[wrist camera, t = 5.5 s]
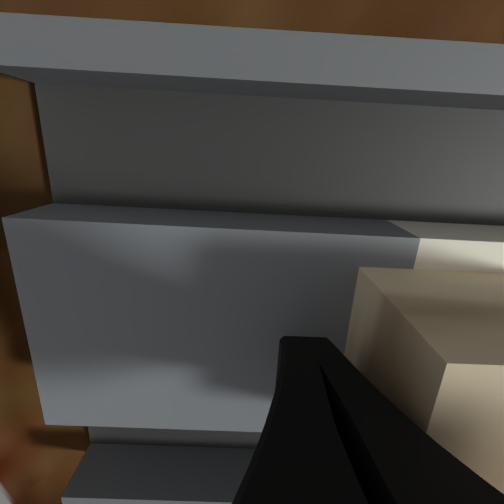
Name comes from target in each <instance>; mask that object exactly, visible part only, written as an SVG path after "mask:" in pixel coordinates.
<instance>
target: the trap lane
mask: <svg viewBox="0 0 504 504" xmlns="http://www.w3.org/2000/svg"><path fill="white" fill-rule="evenodd" d="M0 73H3V74H6V75H9V76H13V77H16V78H19V79H23V80H26V81H30V82H33V83H34V84H35V90H36V97H37V103H38V109H39V116H40V122H41V129H42V135H43V142H44V148H45V155H46V161H47V167H48V174H49V180H50V187H51V193H52V200H53V203H52V204H48V205H45V206H41V207H37V208H34V209H30V210H27V211H23V212H20V213H16V214H13V215H9V216H5V217H2V222H3V227H4V232H5V236H6V241H7V246H8V250H9V255H10V260H11V265H12V269H13V274H14V279H15V283H16V288H17V293H18V297H19V302H20V307H21V312H22V316H23V321H24V326H25V330H26V335H27V340H28V345H29V349H30V354H31V359H32V363H33V368H34V373H35V378H36V382H37V387H38V392H39V396H40V401H41V406H42V411H43V415H44V420H45V425H71V426H88V431H89V438H90V445H89V447H88V448H87V450H86V452H85V454H84V456H83V458H82V459H81V461H80V463H79V465H78V467H77V469H76V471H75V472H74V474H73V476H72V478H71V480H70V482H69V483H68V485H67V487H66V489H65V491H64V493H63V495H62V496H61V500H62V504H232V502H233V500H234V498H235V495H236V493H237V491H238V489H239V486H240V484H241V482H242V480H243V478H244V475H245V473H246V471H247V469H248V466H249V464H250V461H251V459H252V456H253V454H254V451H255V449H256V446H257V444H258V441H259V439H260V436H261V433H262V430H263V428H264V425H265V422H266V419H267V415H268V412H269V409H270V406H271V403H272V399H273V396H274V392H275V385H276V374H277V363H278V352H279V341H280V339H281V338H282V337H283V336H304V337H327V338H328V339H329V340H330V341H331V342H332V343H333V344H334V345H335V346H336V347H337V348H338V349H339V350H340V351H341V352H342V354H343V355H344V352H345V346H346V340H347V334H348V329H349V323H350V317H351V311H352V305H353V299H354V293H355V288H356V282H357V276H358V270H359V267H376V268H400V269H423V270H447V271H470V272H493V273H504V44H493V43H478V42H462V41H446V40H430V39H414V38H399V37H383V36H367V35H351V34H335V33H320V32H304V31H288V30H272V29H256V28H241V27H225V26H209V25H193V24H177V23H162V22H146V21H130V20H114V19H98V18H83V17H67V16H51V15H35V14H19V13H4V12H0Z"/></svg>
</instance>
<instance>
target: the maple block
mask: <svg viewBox="0 0 504 504" xmlns="http://www.w3.org/2000/svg"><path fill="white" fill-rule="evenodd" d="M344 356H345V357H346V358H347V359H348V360H349V361H350V362H351V363H352V364H353V365H354V366H355V367H356V368H357V369H358V370H359V371H360V372H361V373H362V374H363V375H364V376H365V377H366V378H367V379H368V380H369V381H370V382H371V383H372V384H373V385H374V386H375V387H376V388H377V389H378V390H379V391H380V392H381V393H382V394H383V395H384V396H385V397H386V398H387V399H388V400H390V401H391V402H392V403H393V404H394V405H395V406H396V407H397V408H398V409H399V410H400V411H401V412H403V413H404V414H405V415H406V416H407V417H408V418H409V419H410V420H412V421H413V422H414V423H415V424H416V425H417V426H418V427H420V428H421V429H422V430H423V431H424V432H425V433H426V434H428V435H429V436H430V437H431V438H432V439H434V440H435V441H436V442H437V443H438V444H440V445H441V446H442V447H443V448H444V449H446V450H447V451H448V452H450V453H451V454H452V455H453V456H455V457H456V458H457V459H458V460H460V461H461V462H462V463H463V464H465V465H466V466H467V467H469V468H470V469H471V470H472V471H474V472H475V473H476V474H477V475H479V476H480V477H481V478H483V479H484V480H485V481H487V482H488V483H489V484H491V485H492V486H493V487H495V488H496V489H497V490H499V491H500V492H501V493H503V494H504V273H493V272H470V271H447V270H423V269H400V268H376V267H359V270H358V276H357V282H356V288H355V293H354V299H353V305H352V311H351V317H350V323H349V329H348V334H347V340H346V346H345V352H344Z"/></svg>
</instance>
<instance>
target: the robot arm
mask: <svg viewBox="0 0 504 504" xmlns="http://www.w3.org/2000/svg"><path fill="white" fill-rule="evenodd" d="M232 504H504V494H503V493H501V492H500V491H499V490H497V489H496V488H495V487H493V486H492V485H491V484H489V483H488V482H487V481H485V480H484V479H483V478H481V477H480V476H479V475H477V474H476V473H475V472H474V471H472V470H471V469H470V468H469V467H467V466H466V465H465V464H463V463H462V462H461V461H460V460H458V459H457V458H456V457H455V456H453V455H452V454H451V453H450V452H448V451H447V450H446V449H444V448H443V447H442V446H441V445H440V444H438V443H437V442H436V441H435V440H434V439H432V438H431V437H430V436H429V435H428V434H426V433H425V432H424V431H423V430H422V429H421V428H420V427H418V426H417V425H416V424H415V423H414V422H413V421H412V420H410V419H409V418H408V417H407V416H406V415H405V414H404V413H403V412H401V411H400V410H399V409H398V408H397V407H396V406H395V405H394V404H393V403H392V402H391V401H390V400H388V399H387V398H386V397H385V396H384V395H383V394H382V393H381V392H380V391H379V390H378V389H377V388H376V387H375V386H374V385H373V384H372V383H371V382H370V381H369V380H368V379H367V378H366V377H365V376H364V375H363V374H362V373H361V372H360V371H359V370H358V369H357V368H356V367H355V366H354V365H353V364H352V363H351V362H350V361H349V360H348V359H347V358H346V357H345V356H344V355H343V354H342V352H341V351H340V350H339V349H338V348H337V347H336V346H335V345H334V344H333V343H332V342H331V341H330V340H329V339H328V338H327V337H304V336H283V337H282V338H281V339H280V341H279V352H278V363H277V374H276V385H275V392H274V396H273V399H272V403H271V406H270V409H269V412H268V415H267V419H266V422H265V425H264V428H263V430H262V433H261V436H260V439H259V441H258V444H257V446H256V449H255V451H254V454H253V456H252V459H251V461H250V464H249V466H248V469H247V471H246V473H245V475H244V478H243V480H242V482H241V484H240V486H239V489H238V491H237V493H236V495H235V498H234V500H233V502H232Z"/></svg>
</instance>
